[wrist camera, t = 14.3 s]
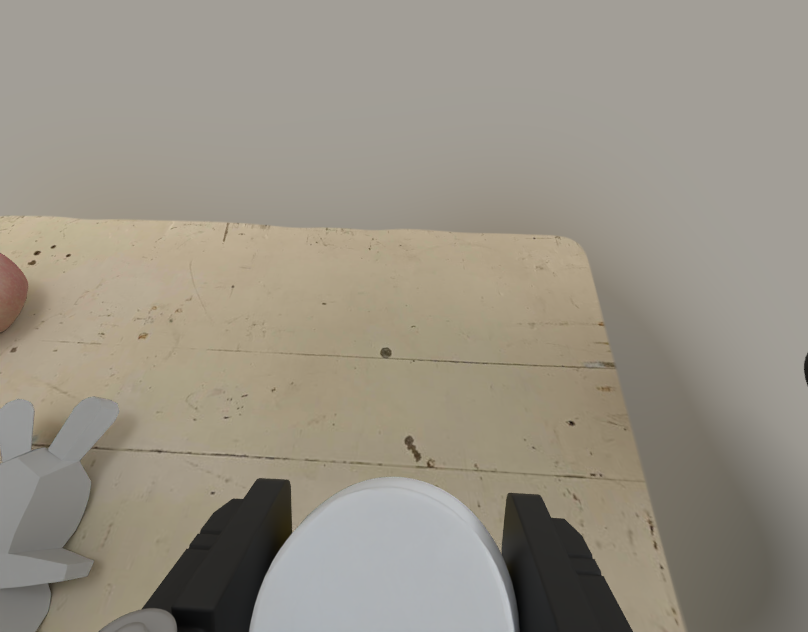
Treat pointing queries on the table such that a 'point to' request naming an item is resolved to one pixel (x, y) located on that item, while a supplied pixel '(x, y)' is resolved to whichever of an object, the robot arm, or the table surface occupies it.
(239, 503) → the robot arm
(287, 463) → the table surface
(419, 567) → the supplement bottle
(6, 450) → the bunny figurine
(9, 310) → the apple
